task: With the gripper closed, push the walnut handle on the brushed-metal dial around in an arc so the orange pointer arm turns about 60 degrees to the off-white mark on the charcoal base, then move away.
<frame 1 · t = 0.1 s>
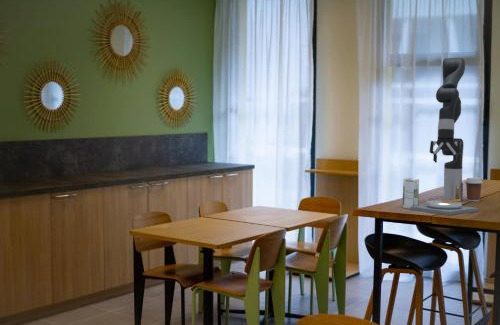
hand: (444, 162, 318), 22 cm above the table, tool pointing down, fingers open, 8 cm apart
syrup box: (410, 208, 322), on the table
dial: (446, 196, 315), point 6 cm above the table, hinge at 0.0°
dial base: (443, 210, 314), on the table
coffee cup: (473, 201, 354), on the table
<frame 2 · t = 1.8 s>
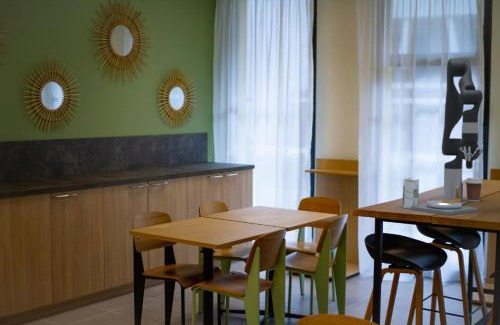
hand: (469, 168, 314), 20 cm above the table, tool pointing down, fingers closed
nothing on the table moved.
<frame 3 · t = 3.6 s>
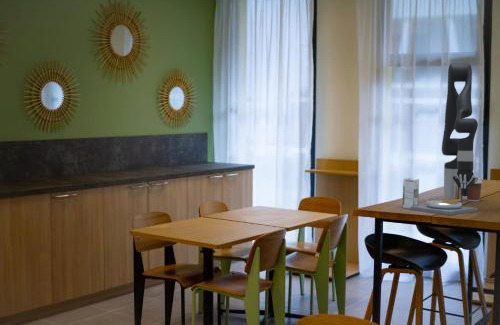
hand: (464, 196, 317), 6 cm above the table, tool pointing down, fingers closed
dial: (446, 196, 315), point 6 cm above the table, hinge at 0.5°, touching gripper
everything else where it was.
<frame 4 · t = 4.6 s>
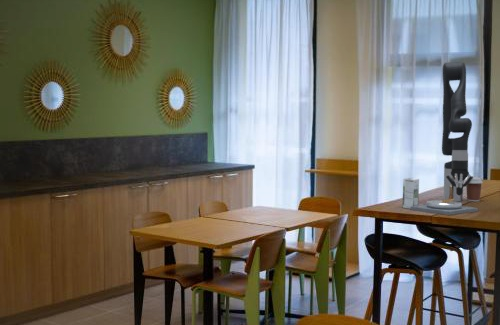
hand: (459, 195, 320), 7 cm above the table, tool pointing down, fingers closed
dial: (445, 196, 315), point 6 cm above the table, hinge at 17.9°, touching gripper
everything else where it was.
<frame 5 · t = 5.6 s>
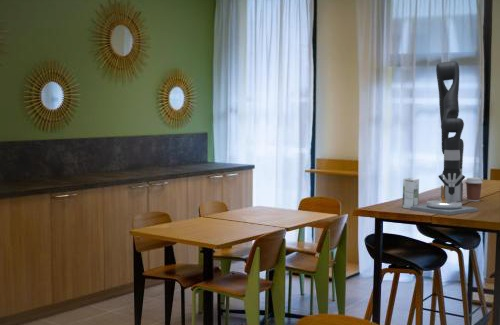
hand: (451, 194, 323), 7 cm above the table, tool pointing down, fingers closed
dial: (444, 196, 315), point 6 cm above the table, hinge at 39.3°, touching gripper
everything else where it was.
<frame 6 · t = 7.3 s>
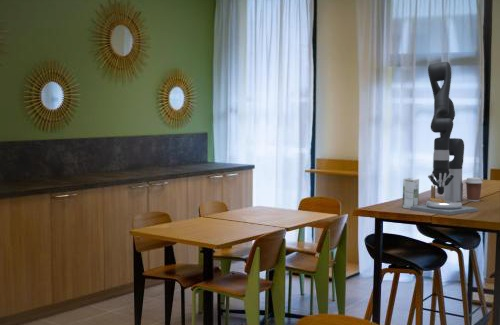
hand: (440, 194, 324), 6 cm above the table, tool pointing down, fingers closed
dial: (442, 196, 315), point 6 cm above the table, hinge at 66.1°
everything else where it was.
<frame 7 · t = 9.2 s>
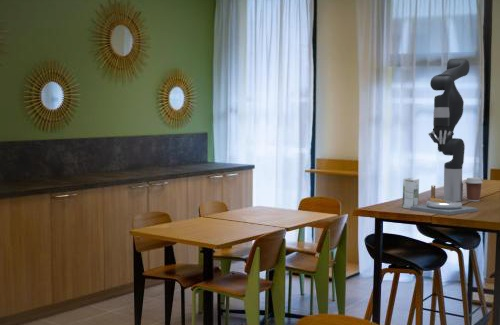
hand: (440, 151, 328), 27 cm above the table, tool pointing down, fingers closed
nothing on the table moved.
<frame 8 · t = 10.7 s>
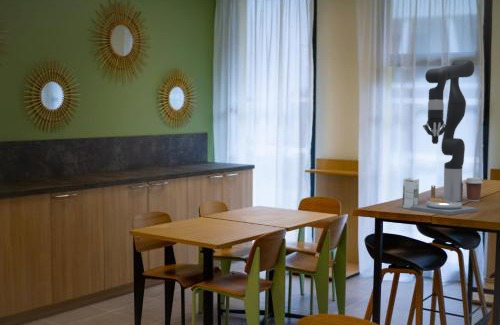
hand: (434, 143, 331), 31 cm above the table, tool pointing down, fingers closed
nothing on the table moved.
at the end: dial at +66° (first picture: +0°); syrup box moved 0.2 cm from its start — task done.
